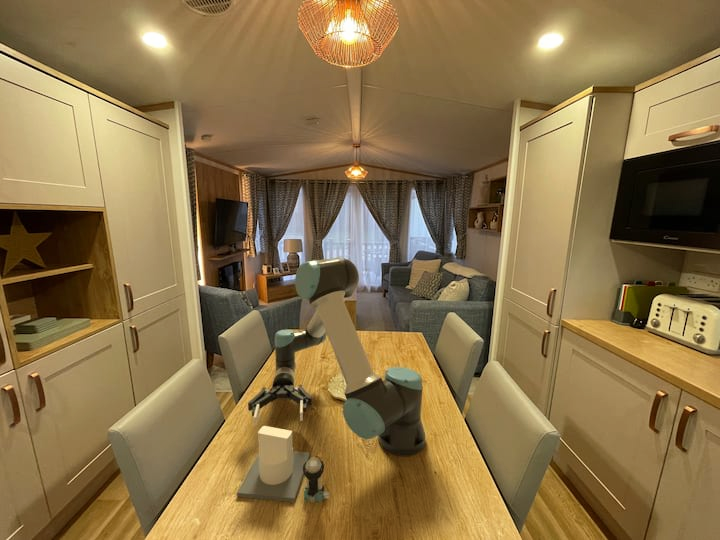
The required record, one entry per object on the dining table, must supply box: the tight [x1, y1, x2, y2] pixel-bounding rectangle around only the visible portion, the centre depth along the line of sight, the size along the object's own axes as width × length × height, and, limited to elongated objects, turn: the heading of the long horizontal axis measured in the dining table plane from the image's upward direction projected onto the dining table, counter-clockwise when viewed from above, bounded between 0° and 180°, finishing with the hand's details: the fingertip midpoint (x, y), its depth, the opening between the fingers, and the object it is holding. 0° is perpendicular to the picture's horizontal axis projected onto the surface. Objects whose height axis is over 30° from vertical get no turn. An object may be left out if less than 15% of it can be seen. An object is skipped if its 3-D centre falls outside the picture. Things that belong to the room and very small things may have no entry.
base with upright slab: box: [257, 425, 294, 485], centre depth 83 cm, size 9×9×12 cm
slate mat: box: [236, 450, 311, 503], centre depth 84 cm, size 15×15×1 cm
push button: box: [303, 457, 331, 503], centre depth 77 cm, size 7×5×10 cm
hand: (278, 419), depth 92 cm, fingers open, 13 cm apart
